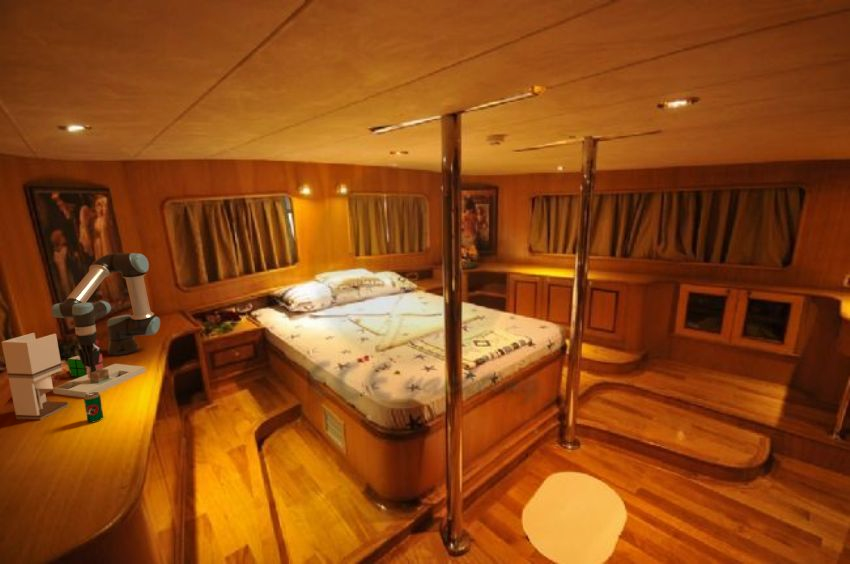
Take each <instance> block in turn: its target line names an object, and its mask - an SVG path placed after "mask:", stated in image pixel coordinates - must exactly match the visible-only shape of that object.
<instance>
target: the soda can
mask: <svg viewBox="0 0 850 564" xmlns="http://www.w3.org/2000/svg"><path fill="white" fill-rule="evenodd" d="M83 403H84V409H85V414H86V420H87V422H88V423H90V422H93V421H97V420H100V419H101V418H102V419H104V413H103V406H102V398H101V394H100V393H98V392H92V393H89V394H87V395H85V398H83ZM102 419H101V420H102ZM101 420H100V421H101ZM97 422H98V421H97ZM93 423H94V422H93Z"/></svg>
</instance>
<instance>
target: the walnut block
mask: <svg viewBox="0 0 850 564" xmlns="http://www.w3.org/2000/svg"><path fill="white" fill-rule="evenodd" d="M89 373H90V380H91V382H97V383H99V382H102V381H104V380H107V379H109V374H108V369H97V370H96V371H94V372H89Z"/></svg>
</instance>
